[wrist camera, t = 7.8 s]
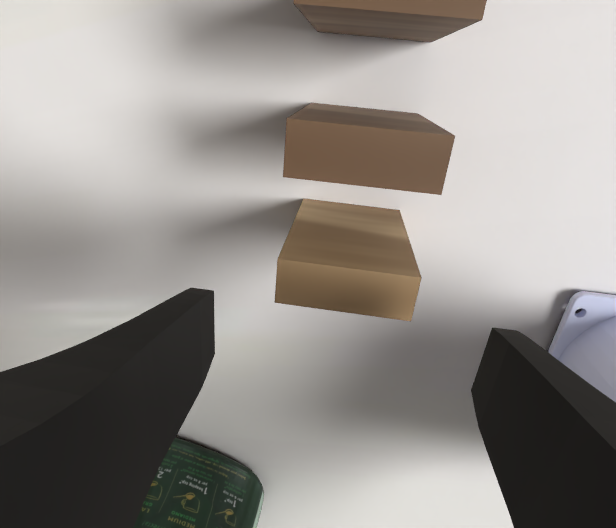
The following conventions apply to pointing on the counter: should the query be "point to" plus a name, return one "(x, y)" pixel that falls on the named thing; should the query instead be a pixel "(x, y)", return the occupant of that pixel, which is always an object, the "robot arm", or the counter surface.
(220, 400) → the counter surface
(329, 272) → the tile
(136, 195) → the counter surface
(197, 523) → the coffee jar
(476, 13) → the brown rectangular block
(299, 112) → the tile
